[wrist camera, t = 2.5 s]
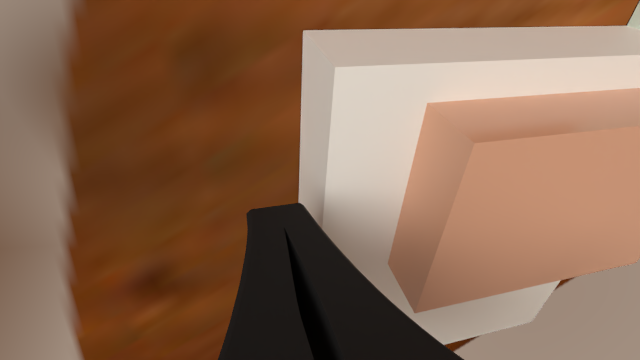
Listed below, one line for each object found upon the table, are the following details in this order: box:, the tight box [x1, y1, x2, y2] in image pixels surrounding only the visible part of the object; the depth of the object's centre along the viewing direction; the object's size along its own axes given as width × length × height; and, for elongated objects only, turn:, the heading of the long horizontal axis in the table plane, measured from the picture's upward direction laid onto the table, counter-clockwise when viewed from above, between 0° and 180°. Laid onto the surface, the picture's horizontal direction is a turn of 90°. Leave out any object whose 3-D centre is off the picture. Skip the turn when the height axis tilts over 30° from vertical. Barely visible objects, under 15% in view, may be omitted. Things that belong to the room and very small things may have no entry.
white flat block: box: [299, 26, 640, 345], centre depth 15 cm, size 14×12×3 cm
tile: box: [388, 88, 640, 313], centre depth 11 cm, size 6×9×2 cm, turn 87°
